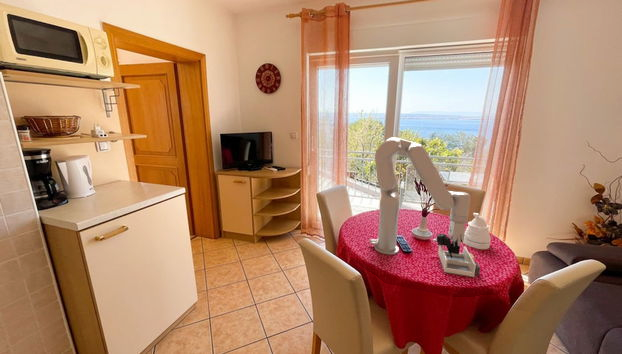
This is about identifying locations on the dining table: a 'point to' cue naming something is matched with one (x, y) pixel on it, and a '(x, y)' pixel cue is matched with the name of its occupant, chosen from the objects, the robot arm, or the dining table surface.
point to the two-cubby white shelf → (457, 262)
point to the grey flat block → (477, 269)
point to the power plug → (444, 242)
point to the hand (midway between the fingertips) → (454, 252)
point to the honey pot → (477, 233)
